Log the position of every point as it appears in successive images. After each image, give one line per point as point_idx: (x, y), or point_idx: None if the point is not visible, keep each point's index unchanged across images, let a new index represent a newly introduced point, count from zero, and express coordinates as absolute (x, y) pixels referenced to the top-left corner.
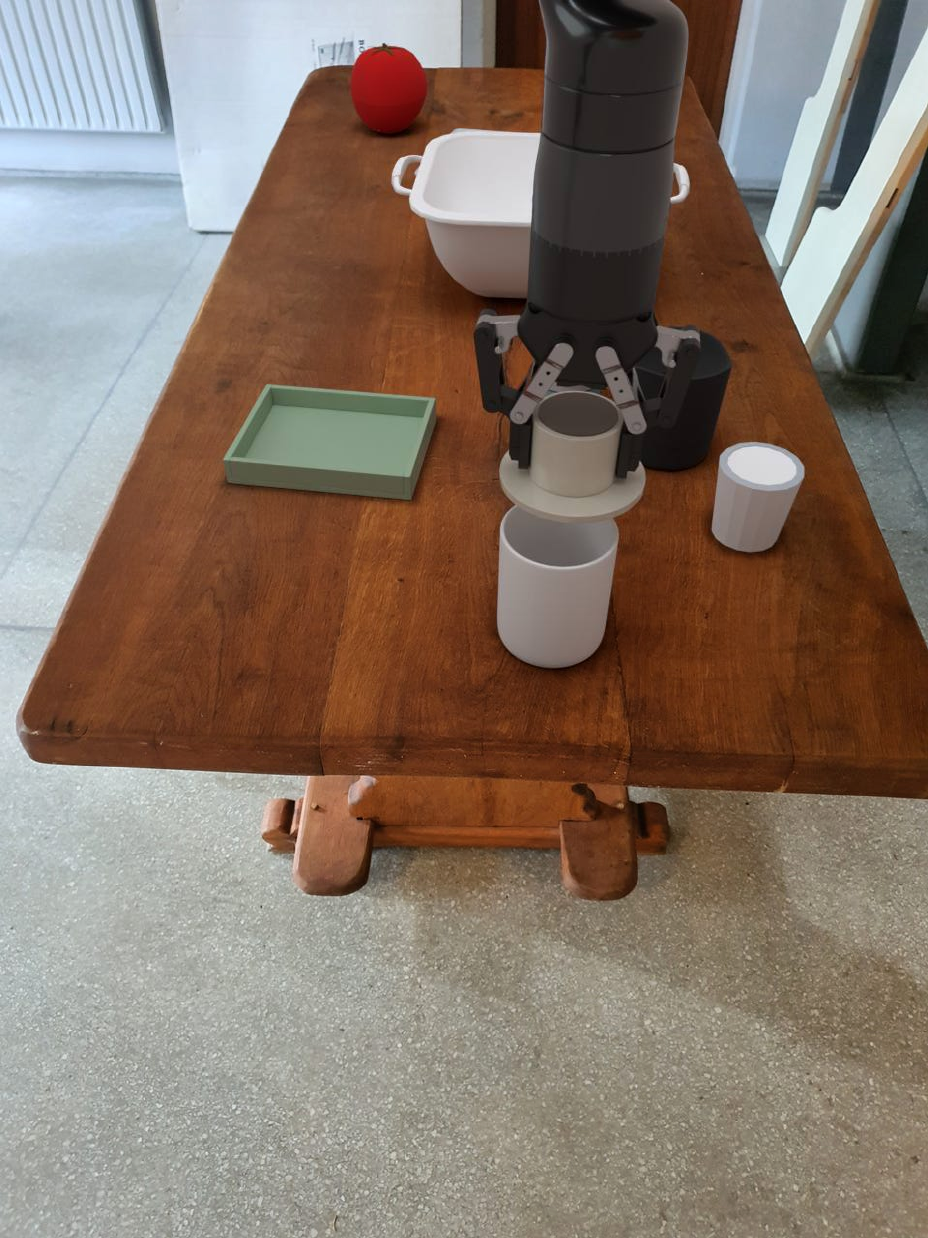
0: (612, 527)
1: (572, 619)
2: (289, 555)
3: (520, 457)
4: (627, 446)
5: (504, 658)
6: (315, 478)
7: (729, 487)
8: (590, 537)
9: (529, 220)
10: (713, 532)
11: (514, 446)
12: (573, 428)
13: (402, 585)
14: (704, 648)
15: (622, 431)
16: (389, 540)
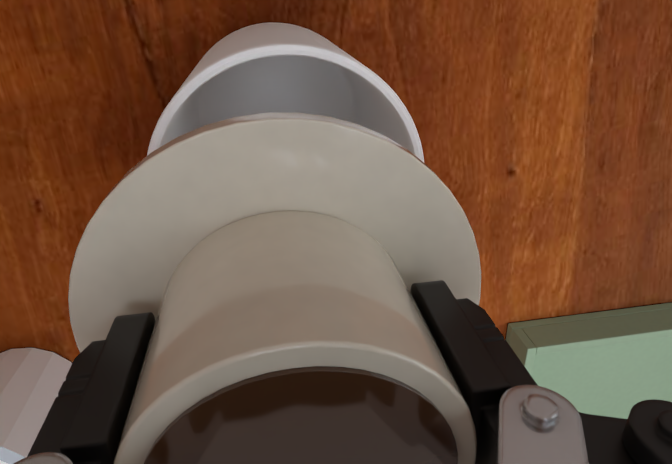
0: None
1: (227, 41)
2: (664, 184)
3: (450, 300)
4: (94, 401)
5: (338, 37)
6: (644, 320)
7: (23, 437)
8: None
9: None
10: None
11: (479, 329)
12: (308, 408)
13: (508, 162)
14: (18, 133)
15: (113, 455)
16: (531, 245)
